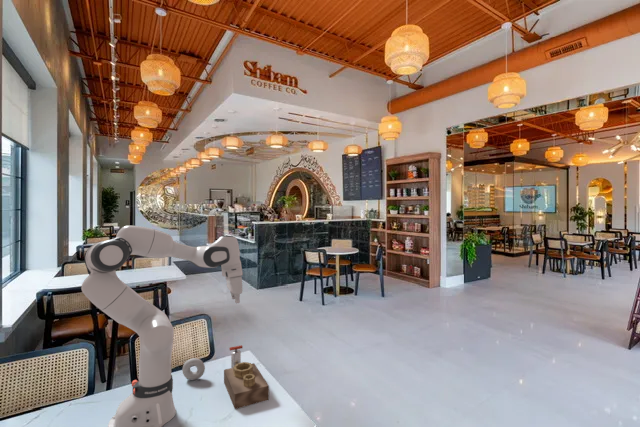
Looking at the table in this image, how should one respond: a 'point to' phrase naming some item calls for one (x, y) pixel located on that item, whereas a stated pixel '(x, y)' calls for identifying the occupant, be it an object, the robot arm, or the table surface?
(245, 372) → the manifold block
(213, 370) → the table surface
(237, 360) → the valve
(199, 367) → the donut
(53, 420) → the table surface
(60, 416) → the table surface
